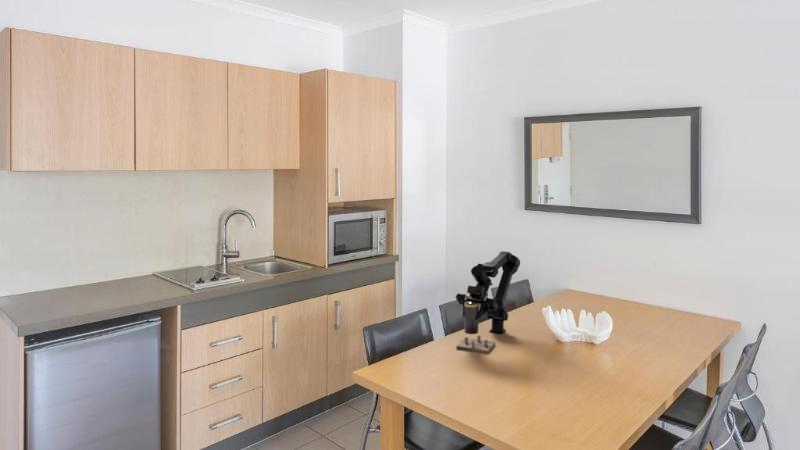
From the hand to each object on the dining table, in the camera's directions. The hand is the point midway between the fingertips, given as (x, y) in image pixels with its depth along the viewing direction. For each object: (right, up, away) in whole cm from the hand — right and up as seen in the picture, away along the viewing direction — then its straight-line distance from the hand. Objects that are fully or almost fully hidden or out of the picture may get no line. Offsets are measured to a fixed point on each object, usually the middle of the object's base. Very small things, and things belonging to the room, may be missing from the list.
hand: (470, 318), depth 238 cm
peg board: (+3, -13, +3) cm, 14 cm away
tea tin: (+1, -6, +2) cm, 7 cm away
